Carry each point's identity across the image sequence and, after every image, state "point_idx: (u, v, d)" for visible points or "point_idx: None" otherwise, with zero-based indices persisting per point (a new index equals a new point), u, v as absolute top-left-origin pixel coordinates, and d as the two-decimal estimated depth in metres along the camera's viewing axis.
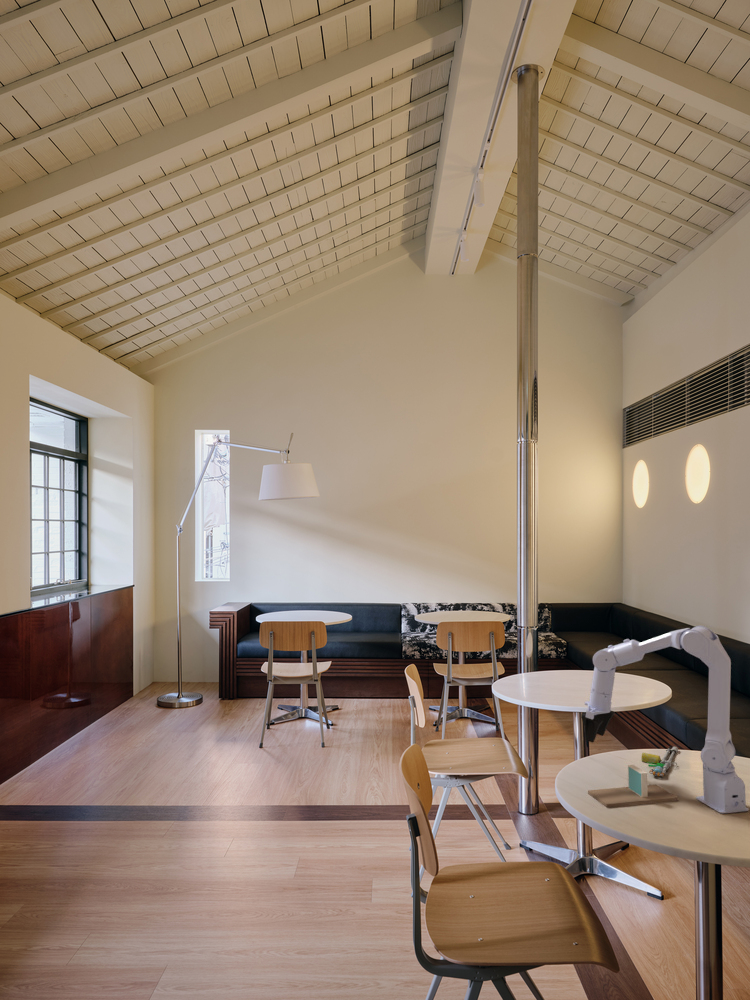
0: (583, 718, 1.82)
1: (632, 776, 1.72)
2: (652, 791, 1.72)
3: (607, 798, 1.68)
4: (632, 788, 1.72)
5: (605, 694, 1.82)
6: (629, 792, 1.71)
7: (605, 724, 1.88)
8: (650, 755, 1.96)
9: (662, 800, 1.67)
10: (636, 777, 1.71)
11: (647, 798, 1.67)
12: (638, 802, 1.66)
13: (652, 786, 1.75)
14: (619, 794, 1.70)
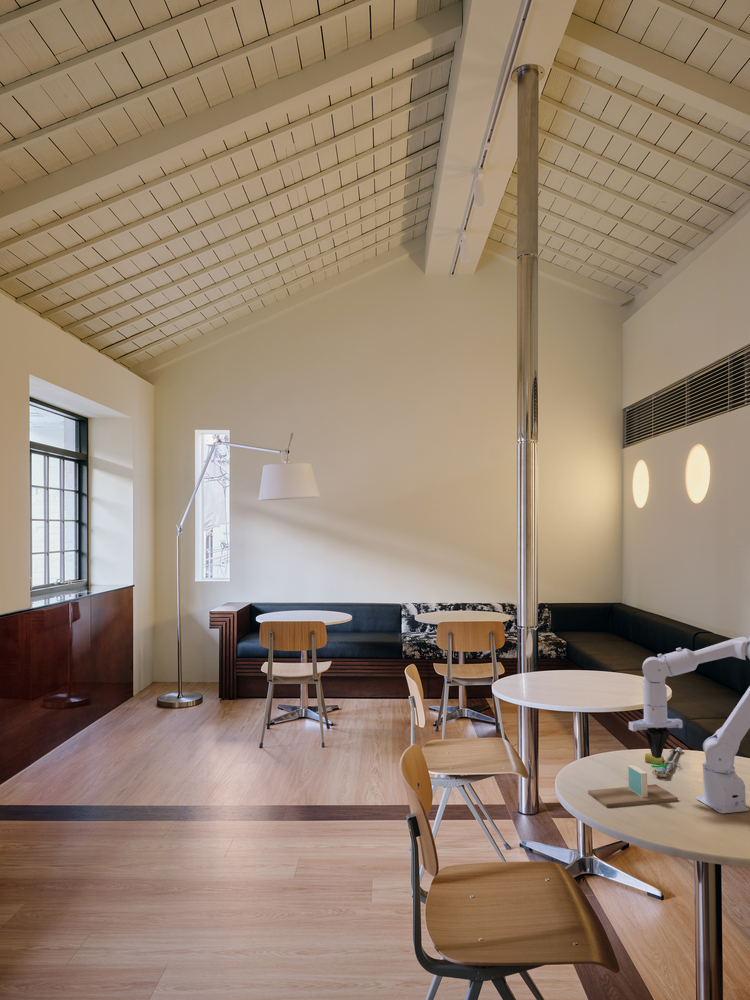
0: (643, 730, 1.73)
1: (632, 776, 1.72)
2: (652, 791, 1.72)
3: (607, 798, 1.68)
4: (632, 788, 1.72)
5: (652, 706, 1.70)
6: (629, 792, 1.71)
7: (659, 745, 1.71)
8: None
9: (662, 800, 1.67)
10: (636, 777, 1.71)
11: (647, 798, 1.67)
12: (638, 802, 1.66)
13: (652, 786, 1.75)
14: (619, 794, 1.70)
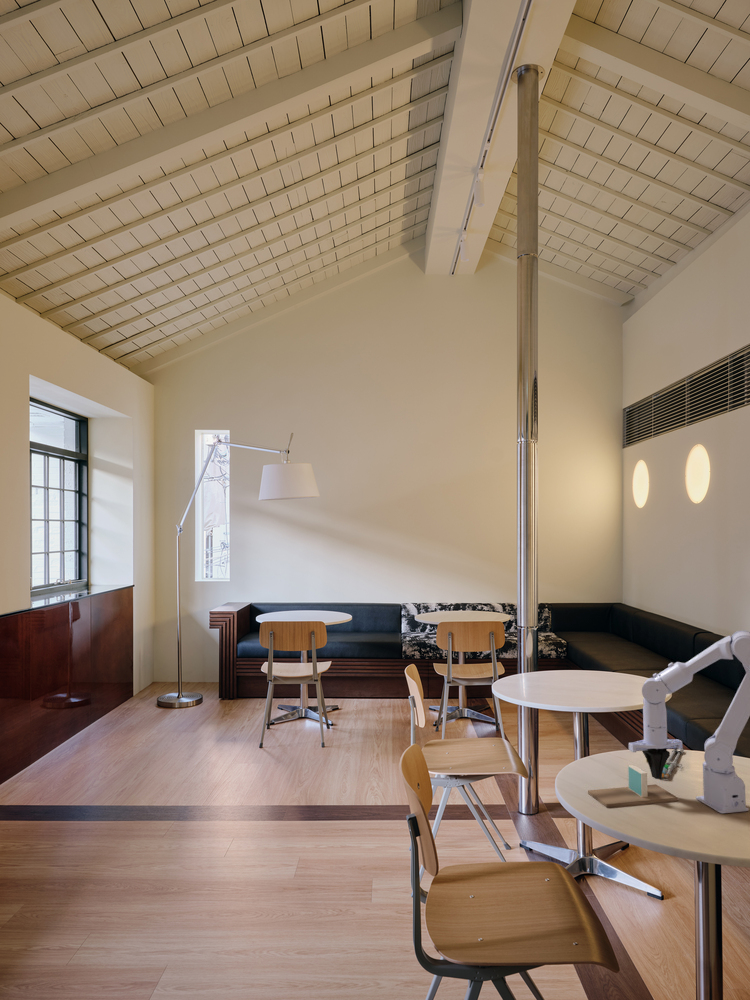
0: (643, 751, 1.74)
1: (632, 776, 1.72)
2: (652, 791, 1.72)
3: (607, 798, 1.68)
4: (632, 788, 1.72)
5: (652, 727, 1.71)
6: (629, 792, 1.71)
7: (659, 765, 1.72)
8: None
9: (662, 800, 1.67)
10: (636, 777, 1.71)
11: (647, 798, 1.67)
12: (638, 802, 1.66)
13: (652, 786, 1.75)
14: (619, 794, 1.70)
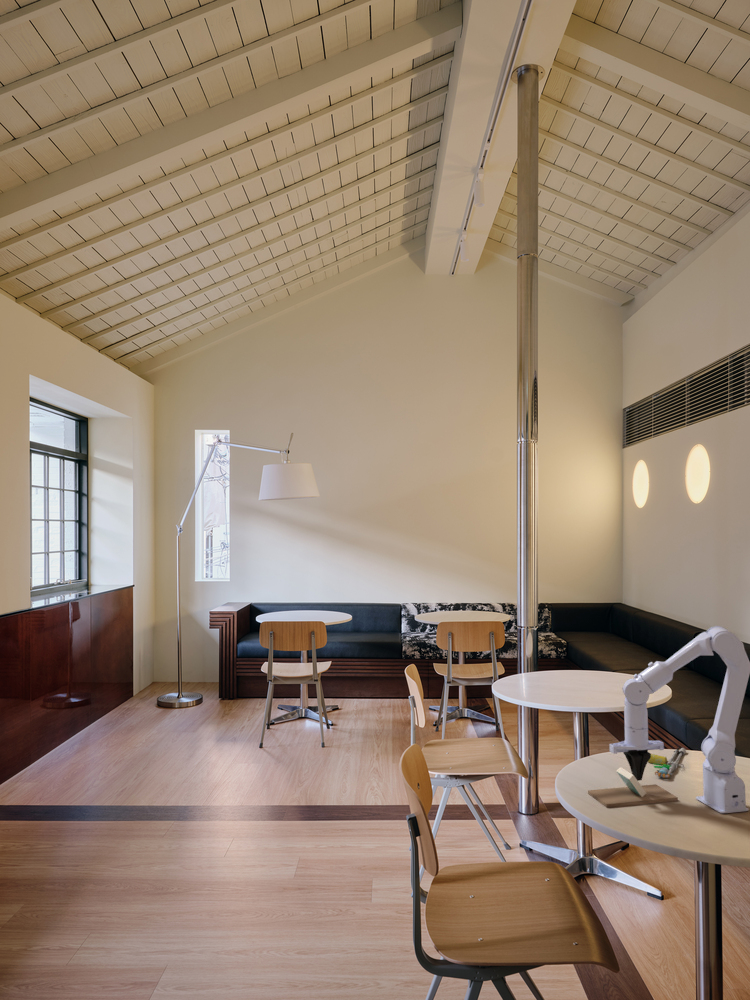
0: (624, 752, 1.73)
1: (624, 780, 1.72)
2: (652, 791, 1.72)
3: (607, 798, 1.68)
4: (630, 789, 1.72)
5: (633, 728, 1.70)
6: (629, 792, 1.71)
7: (640, 767, 1.70)
8: (656, 756, 1.95)
9: (662, 800, 1.67)
10: (627, 781, 1.70)
11: (647, 798, 1.67)
12: (638, 802, 1.66)
13: (652, 786, 1.75)
14: (619, 794, 1.70)
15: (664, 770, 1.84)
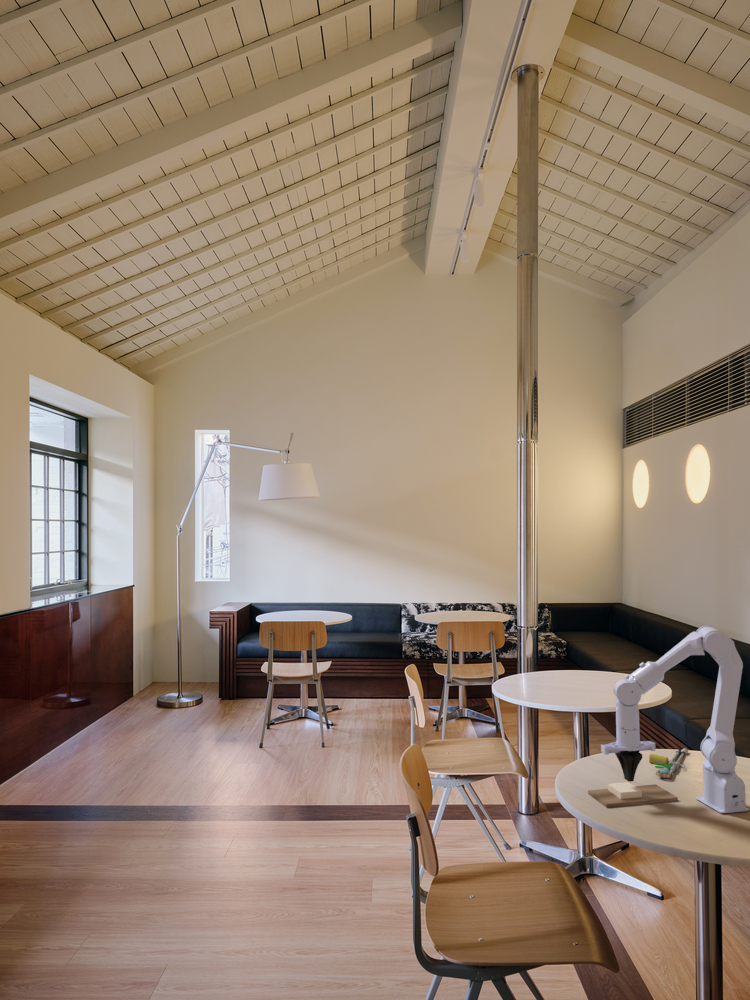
0: (615, 753, 1.73)
1: None
2: (652, 791, 1.72)
3: (607, 798, 1.68)
4: None
5: (624, 729, 1.69)
6: None
7: (632, 768, 1.70)
8: (658, 756, 1.95)
9: (662, 800, 1.67)
10: None
11: (647, 798, 1.67)
12: (638, 802, 1.66)
13: (652, 786, 1.75)
14: None
15: (665, 770, 1.84)
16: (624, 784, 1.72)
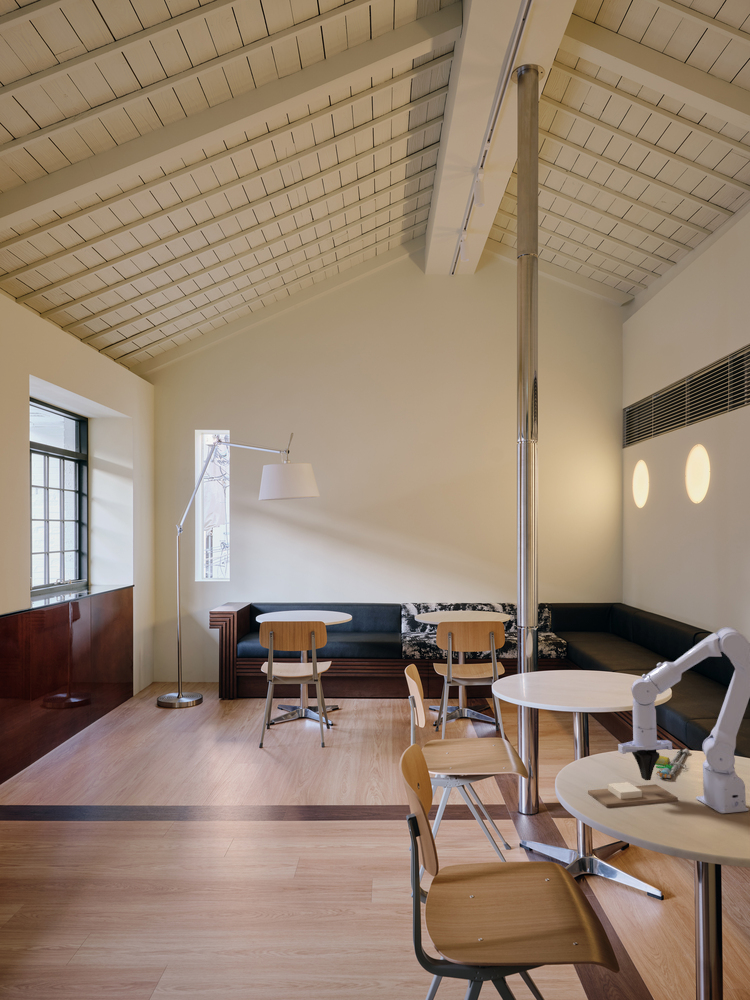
0: (632, 752, 1.74)
1: None
2: (652, 791, 1.72)
3: (607, 798, 1.68)
4: None
5: (641, 728, 1.70)
6: None
7: (649, 767, 1.71)
8: (659, 756, 1.94)
9: (662, 800, 1.67)
10: None
11: (647, 798, 1.67)
12: (638, 802, 1.66)
13: (652, 786, 1.75)
14: None
15: (666, 770, 1.84)
16: (624, 784, 1.72)
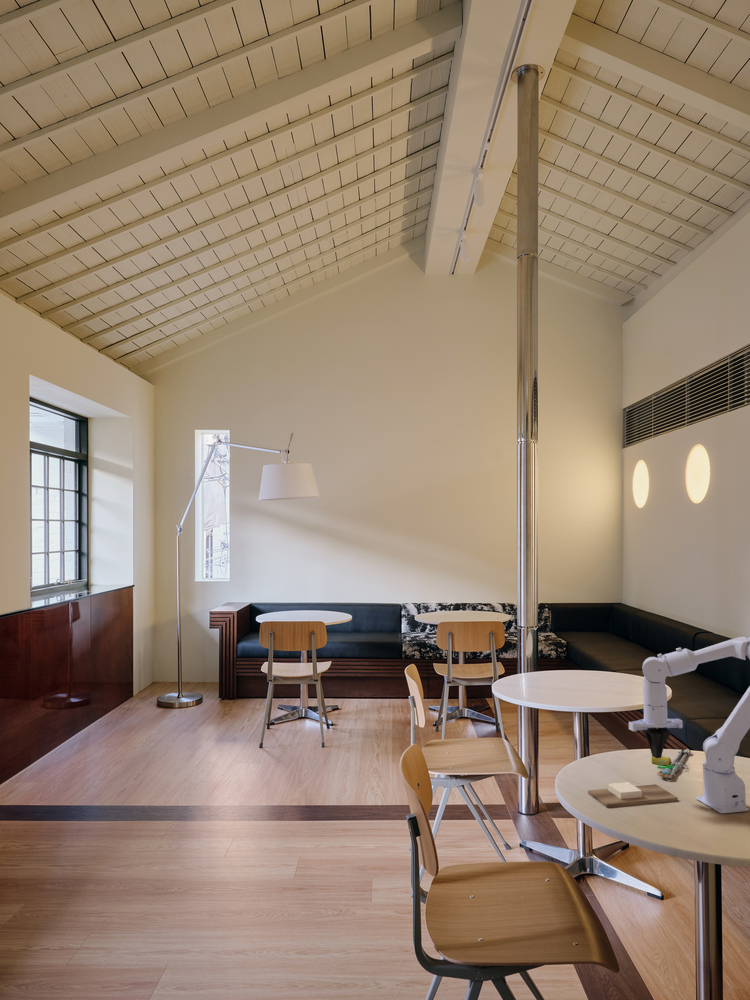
0: (643, 730, 1.73)
1: None
2: (652, 791, 1.72)
3: (607, 798, 1.68)
4: None
5: (652, 706, 1.70)
6: None
7: (659, 745, 1.71)
8: None
9: (662, 800, 1.67)
10: None
11: (647, 798, 1.67)
12: (638, 802, 1.66)
13: (652, 786, 1.75)
14: None
15: (667, 771, 1.84)
16: (624, 784, 1.72)
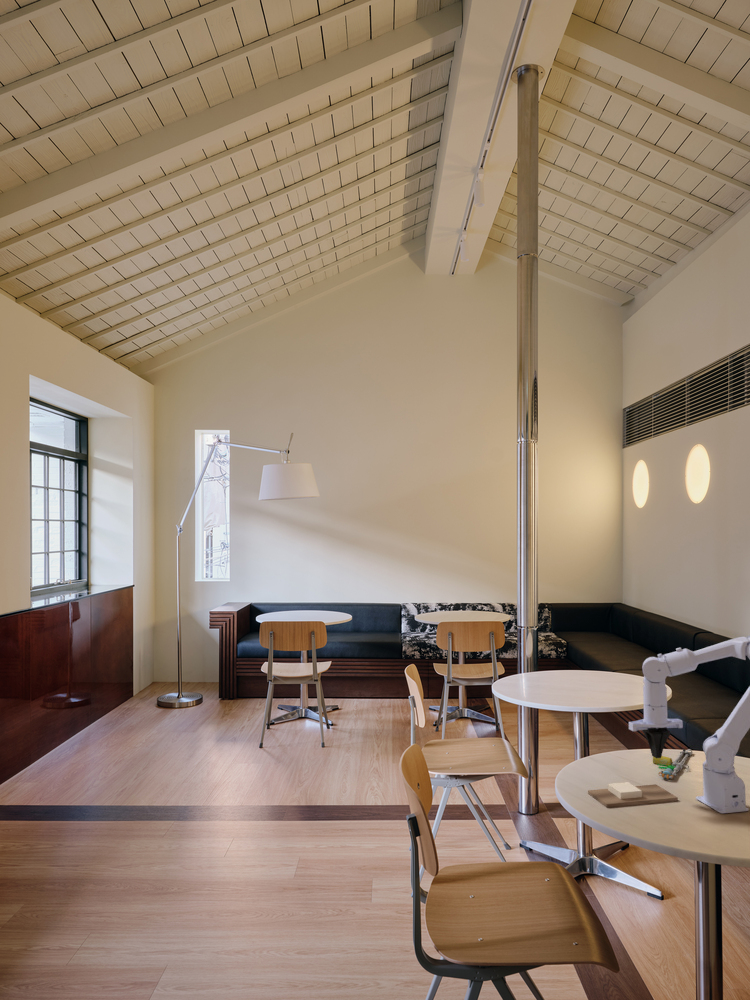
0: (643, 730, 1.73)
1: None
2: (652, 791, 1.72)
3: (607, 798, 1.68)
4: None
5: (652, 706, 1.70)
6: None
7: (659, 745, 1.71)
8: (661, 757, 1.94)
9: (662, 800, 1.67)
10: None
11: (647, 798, 1.67)
12: (638, 802, 1.66)
13: (652, 786, 1.75)
14: None
15: (668, 771, 1.83)
16: (624, 784, 1.72)
